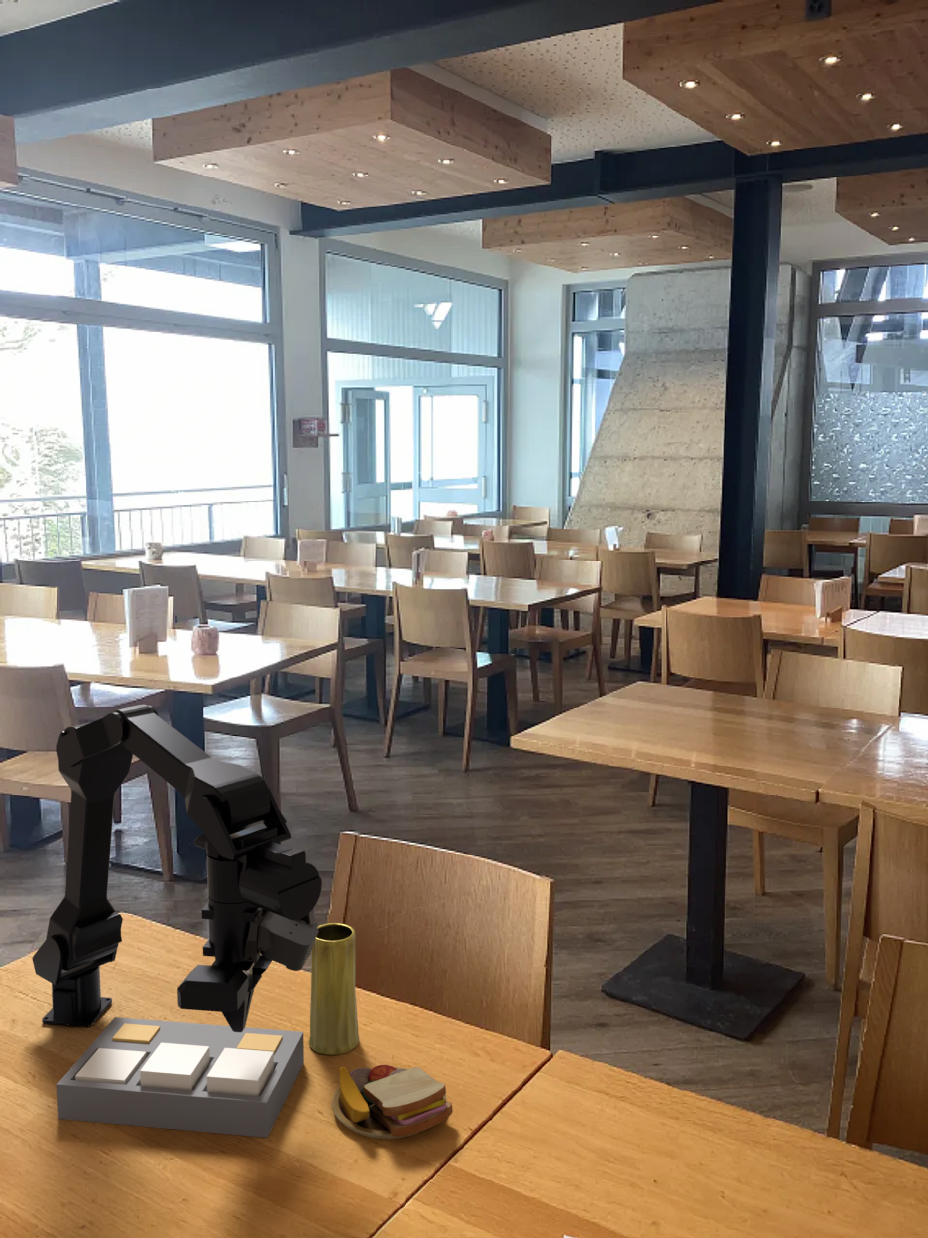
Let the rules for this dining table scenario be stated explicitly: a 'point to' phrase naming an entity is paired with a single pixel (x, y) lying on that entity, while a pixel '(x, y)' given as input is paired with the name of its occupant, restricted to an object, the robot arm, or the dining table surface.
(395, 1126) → the toy sandwich meal
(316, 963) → the vase
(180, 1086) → the key middle
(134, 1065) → the key
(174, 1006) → the dining table surface
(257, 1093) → the key
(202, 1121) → the key panel
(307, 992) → the dining table surface
